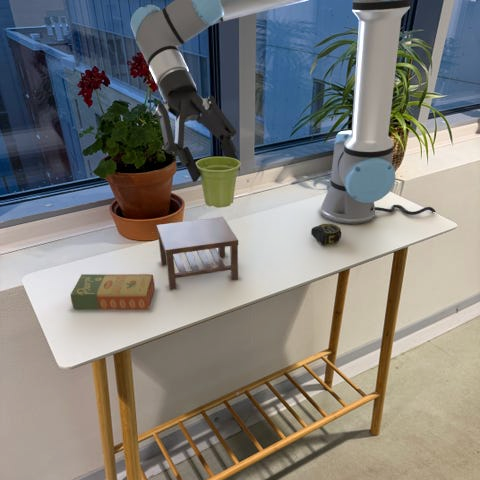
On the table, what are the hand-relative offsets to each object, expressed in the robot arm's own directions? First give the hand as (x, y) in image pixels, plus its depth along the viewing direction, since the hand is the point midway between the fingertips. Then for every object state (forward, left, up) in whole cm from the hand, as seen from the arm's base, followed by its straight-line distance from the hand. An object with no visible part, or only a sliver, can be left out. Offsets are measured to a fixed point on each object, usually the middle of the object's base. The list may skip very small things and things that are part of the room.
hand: (217, 173), depth 102 cm
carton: (+25, +6, -23) cm, 35 cm away
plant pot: (0, 0, -7) cm, 7 cm away
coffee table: (+5, 0, -23) cm, 24 cm away
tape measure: (-30, -5, -23) cm, 38 cm away
